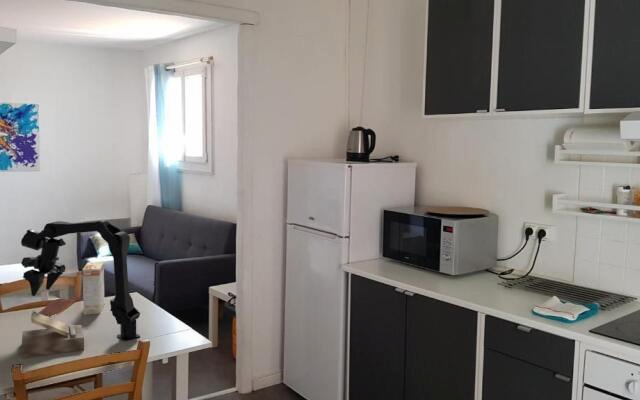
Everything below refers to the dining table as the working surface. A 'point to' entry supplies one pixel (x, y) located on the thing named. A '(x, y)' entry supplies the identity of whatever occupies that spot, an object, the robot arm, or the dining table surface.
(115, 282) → the robot arm
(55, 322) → the oak plank
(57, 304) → the wooden tablet
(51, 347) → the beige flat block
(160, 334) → the dining table surface
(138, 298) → the dining table surface
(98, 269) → the coffeecake box
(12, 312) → the dining table surface
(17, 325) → the dining table surface
